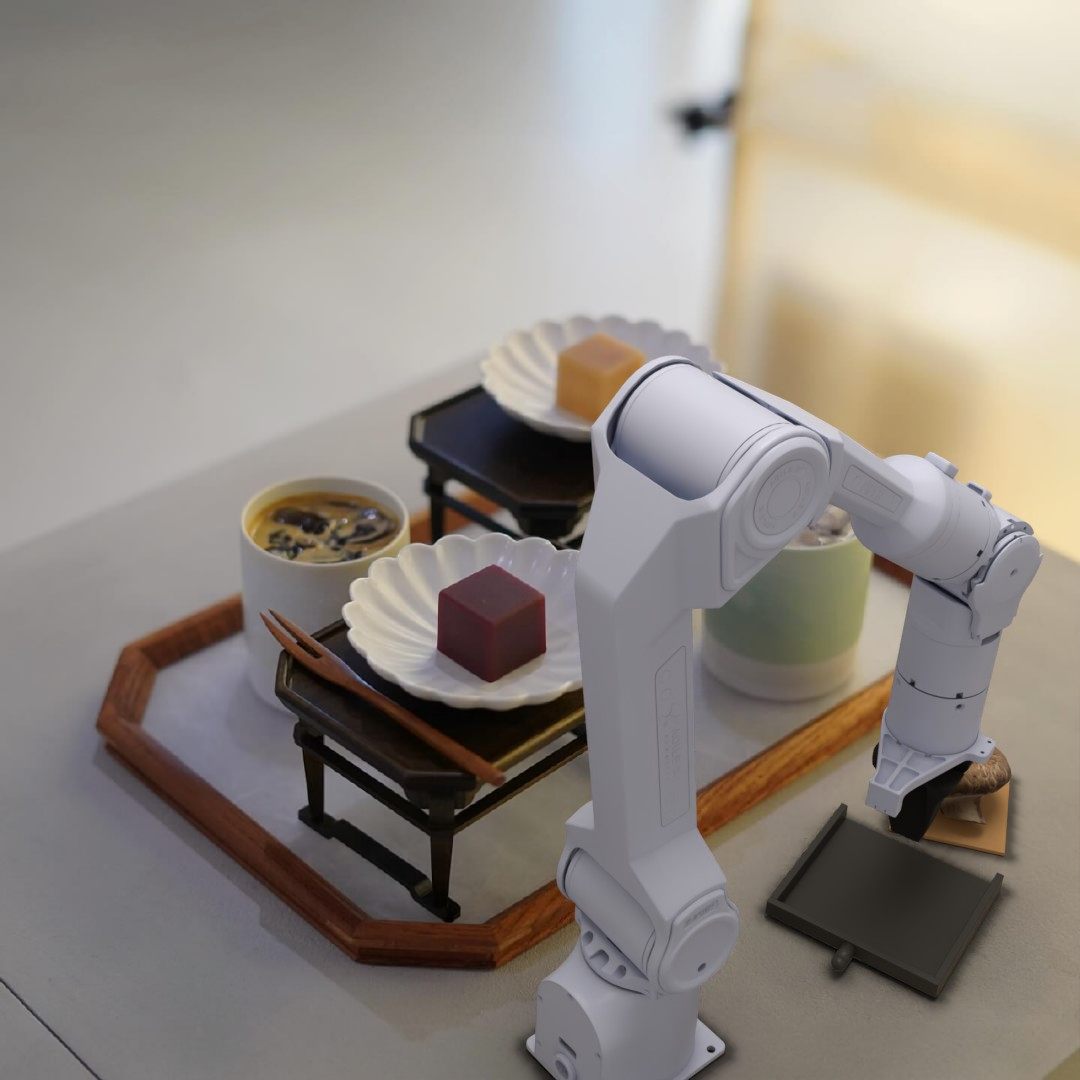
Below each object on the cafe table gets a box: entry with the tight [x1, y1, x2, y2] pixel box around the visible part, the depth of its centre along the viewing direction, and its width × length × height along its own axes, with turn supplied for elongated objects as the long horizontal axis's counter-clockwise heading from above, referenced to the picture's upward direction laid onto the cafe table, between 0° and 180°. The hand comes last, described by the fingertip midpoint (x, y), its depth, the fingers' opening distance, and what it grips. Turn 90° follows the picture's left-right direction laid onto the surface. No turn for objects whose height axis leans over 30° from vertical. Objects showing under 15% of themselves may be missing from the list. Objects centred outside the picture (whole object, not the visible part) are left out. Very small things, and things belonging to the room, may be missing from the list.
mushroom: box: [939, 746, 1012, 825], centre depth 108 cm, size 8×8×6 cm
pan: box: [764, 802, 1005, 998], centre depth 101 cm, size 14×12×2 cm
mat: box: [888, 780, 1011, 857], centre depth 110 cm, size 8×8×1 cm
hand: (908, 830), depth 101 cm, fingers closed
